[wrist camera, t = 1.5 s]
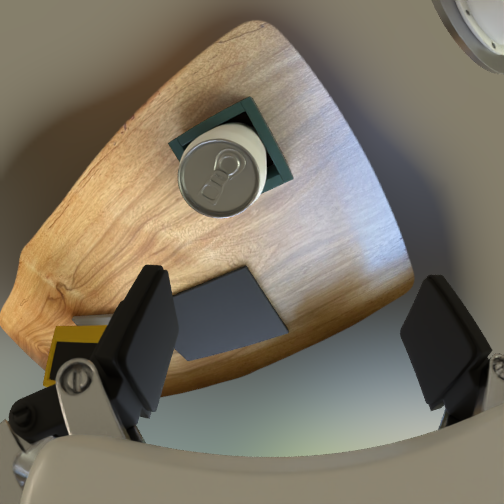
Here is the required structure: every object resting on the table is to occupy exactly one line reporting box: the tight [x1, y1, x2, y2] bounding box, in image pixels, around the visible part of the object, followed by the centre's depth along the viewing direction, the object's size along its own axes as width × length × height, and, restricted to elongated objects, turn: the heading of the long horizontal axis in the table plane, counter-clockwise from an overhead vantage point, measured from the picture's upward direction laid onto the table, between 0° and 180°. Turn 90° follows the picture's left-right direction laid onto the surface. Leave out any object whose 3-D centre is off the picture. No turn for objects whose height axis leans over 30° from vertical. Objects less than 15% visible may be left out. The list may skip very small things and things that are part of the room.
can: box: [178, 122, 267, 218], centre depth 23 cm, size 6×6×12 cm
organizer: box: [168, 97, 294, 194], centre depth 26 cm, size 9×9×5 cm
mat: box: [173, 266, 289, 361], centre depth 41 cm, size 20×14×1 cm
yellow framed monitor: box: [43, 314, 113, 387], centre depth 37 cm, size 20×8×16 cm, turn 103°
